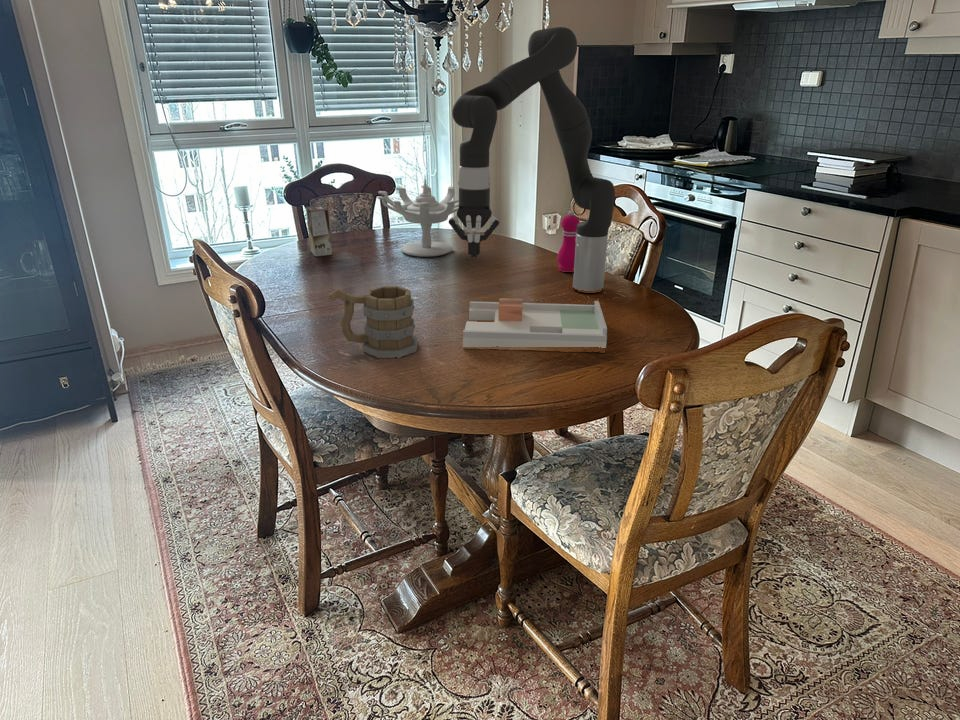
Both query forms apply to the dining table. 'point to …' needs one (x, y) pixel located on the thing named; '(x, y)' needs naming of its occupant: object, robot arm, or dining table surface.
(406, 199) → the candelabra
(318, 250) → the coffee box
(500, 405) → the dining table surface
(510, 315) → the block
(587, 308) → the box
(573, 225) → the pepper mill
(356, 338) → the tankard
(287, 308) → the dining table surface
